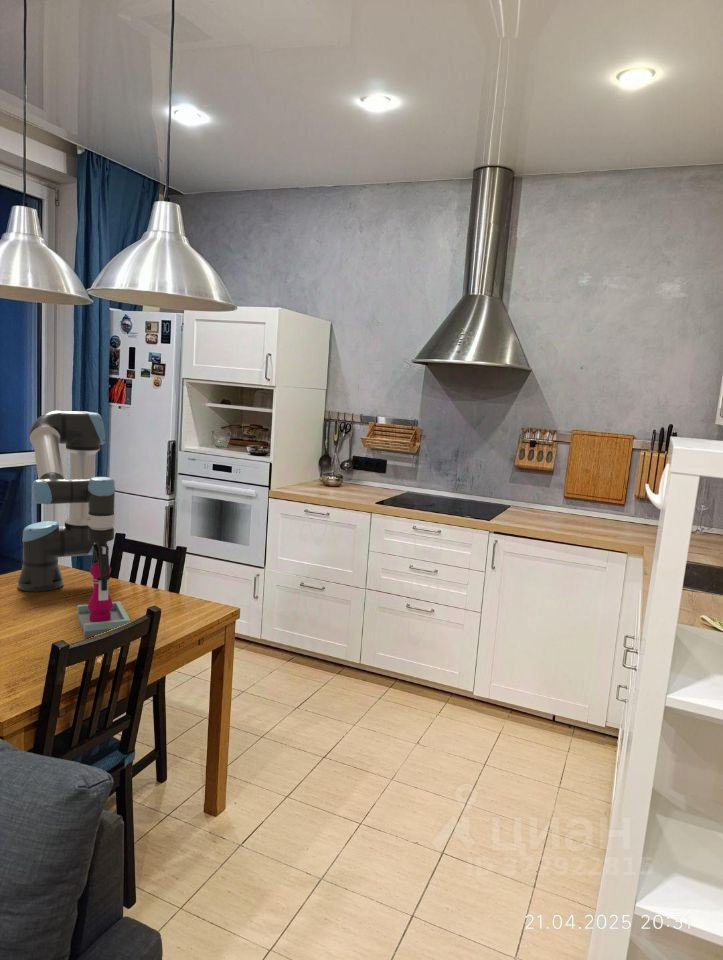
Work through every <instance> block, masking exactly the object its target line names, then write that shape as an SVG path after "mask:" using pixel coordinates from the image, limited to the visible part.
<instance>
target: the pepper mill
mask: <svg viewBox="0 0 723 960" xmlns="http://www.w3.org/2000/svg"><path fill="white" fill-rule="evenodd" d="M92 564H93V563H92ZM111 572H112V568H111V565H110V564H109V573H110V574H111ZM90 575H92V578H91V580H92V581H91V583H92V584H93V583H94V587H93V591H92V593H91V597H90V598H89V600H88V603H87V604H88V609H89V610H90V611H91V613H90V618H89V619H90V620H91V621H93V622H103V621H108V620H109V619H110V618H111V613H110V612H109V611H110V610H111V608H112V606H113V605H112V602H113V600H112V597H111V595H110V592H108V600H101V601H99V581H97V578H100V576H99V565H98V562H97V563H94V564H93V565H91V567H90ZM103 576H106V575H103Z"/></svg>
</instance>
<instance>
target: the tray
mask: <svg viewBox="0 0 723 960" xmlns="http://www.w3.org/2000/svg"><path fill="white" fill-rule="evenodd" d="M112 605H113V606H112V608H111V610H110V611H109V612H110V613H111V618H110V619H109V620H108V621H103V622H93V621H91V620H90V619H89V618H90V613H91V611H90V610H89V609H88V603H87V604H78V605H77V619H79V620H78V621H79V625H80V628H81V630H83V631H82V633H84V634H83V636H85V637H84V639H86V638H93V637H92V636H95V635H98V634H101V633H104V632H107V631H109V630H111V629H114V628H117V627H119V626H122V625H124V624H127V623H129V622H130V623H131V619H130V617H129V615H128V614H127V611H126V610H125V608H124V607H123V604H122V602H121V601H120V600H119V601H112Z"/></svg>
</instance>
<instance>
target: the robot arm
mask: <svg viewBox="0 0 723 960" xmlns="http://www.w3.org/2000/svg"><path fill="white" fill-rule="evenodd" d="M104 425H105V424H104V421H103V418H102V416H101V414H99V413H98V412H92V411H77V410H76V411H72V410H71V411H67V410H66V411H65V410H63V411H62V410H51V411H49V412H46V413H43V414H42V415H41V416H39V417H38V418H37V419H36V420H35V421H34V422H33V423H32V425H31V426H30V429H29V433H28V434H29V441H30V444H31V445H32V447H33V448H34V457H35V463H36V472H37V479H36V480H33V481H32V501H33V502H34V503H35V504H40V505H42V504H43V505H44V504H45V505H53V504H54V505H55V504H56V505H57V504H60V505H61V504H69V510H68V512H69V513H68V514H69V515H68V516H67V518H65V520H64V525H59V522H58V521H55V520H53V521H50V520H49V521H48V520H47V521H39V522H34V523H31V524H29V525H26V526H25V527H24V528H23V531H22V538H21V539H22V540H21V541H22V568H21V571H20V573H19V576H18V579H17V588H18V590H20V591H25V592H32V593H33V592H34V593H35V592H47V591H52V590H57V589H59V588H61V587H62V586H64V577H63V574H62V571H61V569H60V566H59V558H62V557H63V558H66V557H82V556H84V557H86V556H87V557H88V556H91V557H92V558H91V563H92V565H93V564H94V563H97V562H98V565H99V576H100V578H97V581H99V601H101V600H108V593H109V584H110V583H109V582H110V579H111V573H109V565H110V557H109V550H110V549H109V546H108V544H107V542H111V541H113V540H114V539H115V528H114V526H115V495H116V487H115V483H116V482H115V480H114V479H113V478H112V477H107V476H96V454H97V453H98V452H99V451H100V450H101V445H104V444H106V433H105V431H106V430H105V426H104ZM59 444H65V449H66V450H67V451H68V452H69V454H70V455H69V457H70V458H69V462H70V463H69V478H68V479H65V474H64V469H63V464H62V458H61V457H62V456H61V452H60V446H59ZM92 565H91V566H92ZM103 575H106V576H103ZM92 588H94V583H93V582H92Z"/></svg>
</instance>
